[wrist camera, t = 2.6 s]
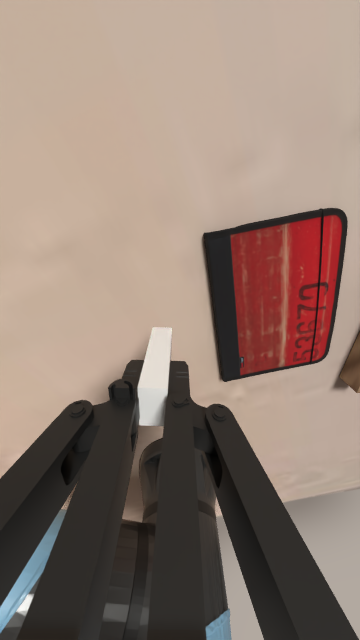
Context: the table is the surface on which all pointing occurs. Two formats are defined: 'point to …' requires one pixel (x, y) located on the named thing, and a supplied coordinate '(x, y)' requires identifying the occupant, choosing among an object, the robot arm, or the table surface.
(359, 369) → the rail
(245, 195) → the table surface
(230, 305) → the binder
